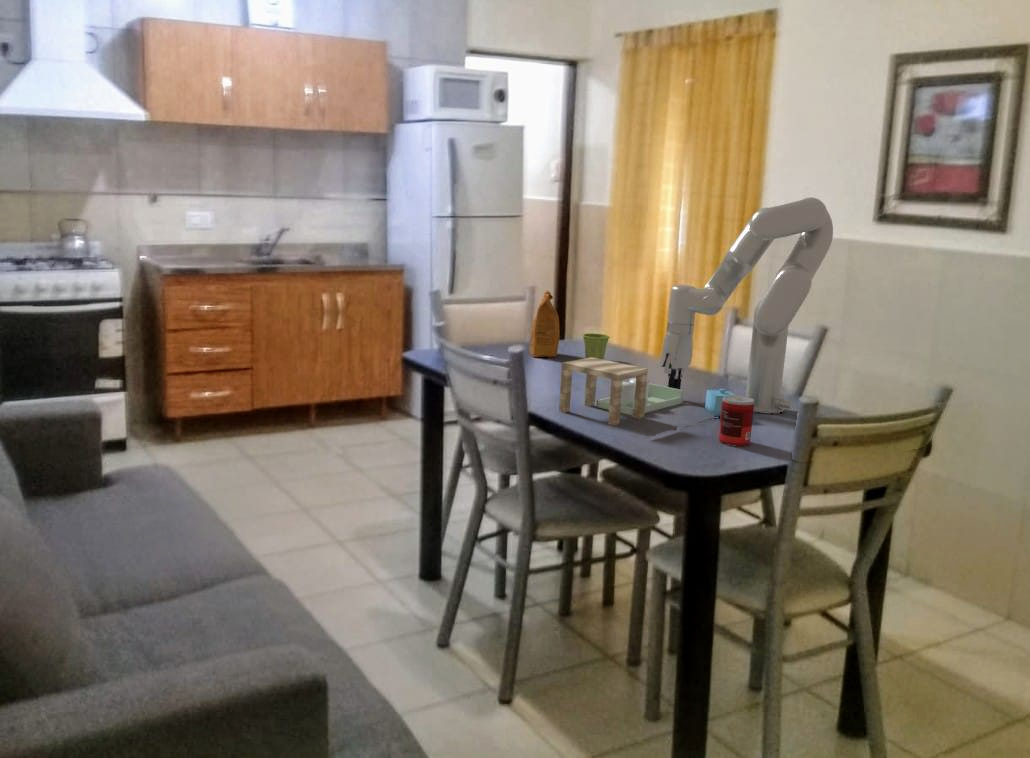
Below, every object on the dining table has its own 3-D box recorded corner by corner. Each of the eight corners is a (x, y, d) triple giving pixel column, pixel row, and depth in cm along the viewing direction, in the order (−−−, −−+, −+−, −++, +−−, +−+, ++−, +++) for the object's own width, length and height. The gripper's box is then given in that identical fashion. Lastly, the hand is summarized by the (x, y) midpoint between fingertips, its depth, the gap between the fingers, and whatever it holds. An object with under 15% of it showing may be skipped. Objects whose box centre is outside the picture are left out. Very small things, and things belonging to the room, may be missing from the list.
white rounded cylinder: (636, 409, 264) (638, 384, 262) (625, 412, 260) (627, 386, 258) (620, 405, 267) (622, 380, 266) (608, 408, 263) (610, 383, 262)
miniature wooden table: (643, 421, 256) (647, 368, 253) (614, 429, 246) (618, 374, 243) (588, 407, 267) (592, 357, 264) (558, 414, 257) (562, 362, 255)
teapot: (700, 409, 272) (702, 383, 270) (720, 409, 273) (723, 383, 272) (716, 420, 260) (718, 393, 259) (737, 421, 262) (740, 393, 260)
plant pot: (576, 357, 338) (578, 333, 337) (602, 357, 341) (603, 333, 339) (586, 363, 330) (588, 337, 328) (612, 362, 332) (614, 337, 331)
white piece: (650, 406, 269) (653, 381, 267) (639, 408, 265) (641, 383, 263) (634, 402, 272) (637, 377, 271) (623, 404, 268) (625, 379, 267)
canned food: (745, 438, 244) (749, 395, 241) (753, 447, 236) (758, 403, 234) (714, 437, 243) (719, 394, 241) (722, 446, 236) (726, 401, 233)
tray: (682, 405, 275) (683, 390, 274) (633, 418, 257) (634, 402, 256) (646, 397, 282) (647, 382, 282) (596, 409, 265) (597, 393, 264)
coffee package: (557, 352, 346) (561, 290, 341) (558, 359, 334) (562, 295, 329) (529, 351, 346) (533, 289, 341) (529, 357, 334) (532, 293, 329)
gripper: (683, 324, 286) (676, 385, 290) (654, 328, 275) (648, 392, 279) (705, 328, 282) (698, 390, 285) (677, 333, 270) (670, 397, 274)
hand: (673, 391), depth 282 cm, fingers closed
